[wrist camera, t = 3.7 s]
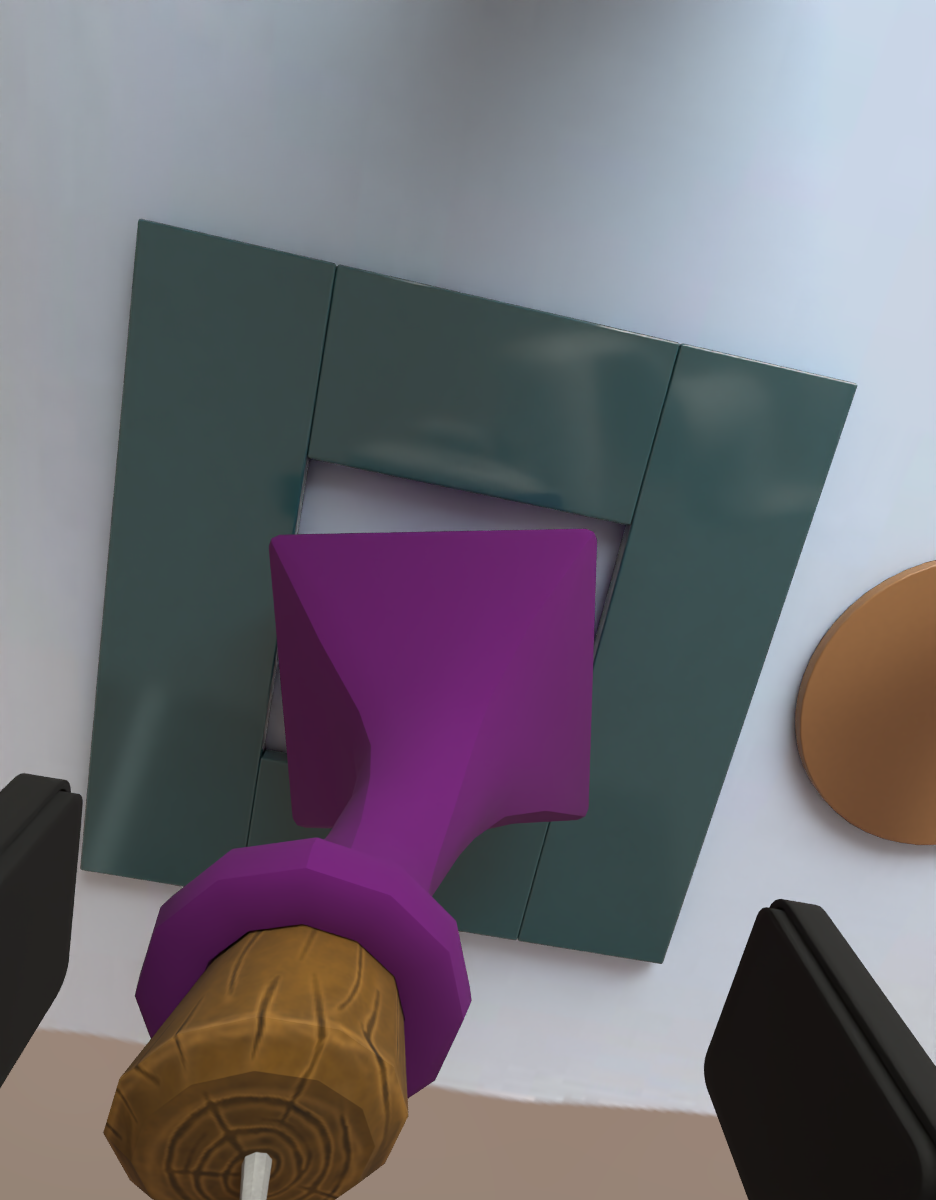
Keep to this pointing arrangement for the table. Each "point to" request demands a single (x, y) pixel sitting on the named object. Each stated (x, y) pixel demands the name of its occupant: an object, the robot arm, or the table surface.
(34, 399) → the table surface
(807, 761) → the coaster
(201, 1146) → the purple corked potion bottle
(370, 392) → the green square frame
